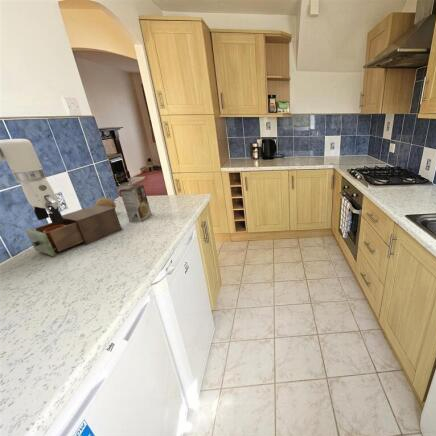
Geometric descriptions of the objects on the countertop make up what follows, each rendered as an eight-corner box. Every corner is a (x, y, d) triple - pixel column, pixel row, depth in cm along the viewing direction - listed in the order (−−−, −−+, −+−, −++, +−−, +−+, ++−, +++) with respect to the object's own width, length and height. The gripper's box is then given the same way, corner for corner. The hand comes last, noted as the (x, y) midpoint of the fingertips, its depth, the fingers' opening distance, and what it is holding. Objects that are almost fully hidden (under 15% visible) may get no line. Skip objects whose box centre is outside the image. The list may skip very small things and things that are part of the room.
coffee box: (140, 214, 127) (131, 184, 120) (152, 214, 127) (143, 184, 120) (128, 221, 118) (118, 190, 112) (141, 221, 118) (132, 189, 112)
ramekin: (66, 238, 99) (60, 223, 97) (76, 240, 97) (69, 226, 94) (46, 245, 94) (39, 230, 91) (56, 248, 91) (48, 233, 89)
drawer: (47, 257, 88) (37, 236, 84) (31, 252, 92) (20, 231, 88) (91, 239, 100) (84, 220, 96) (75, 235, 104) (67, 216, 101)
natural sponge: (120, 215, 126) (114, 197, 122) (100, 220, 120) (92, 202, 116) (116, 211, 132) (110, 193, 128) (96, 216, 126) (89, 198, 122)
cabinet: (86, 244, 98) (76, 220, 94) (68, 239, 103) (58, 216, 98) (122, 229, 110) (114, 207, 106) (104, 225, 115) (96, 204, 111)
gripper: (57, 175, 85) (75, 219, 91) (31, 172, 91) (50, 214, 98) (29, 180, 78) (51, 228, 85) (3, 176, 85) (26, 221, 91)
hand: (51, 220), depth 91 cm, fingers open, 9 cm apart
